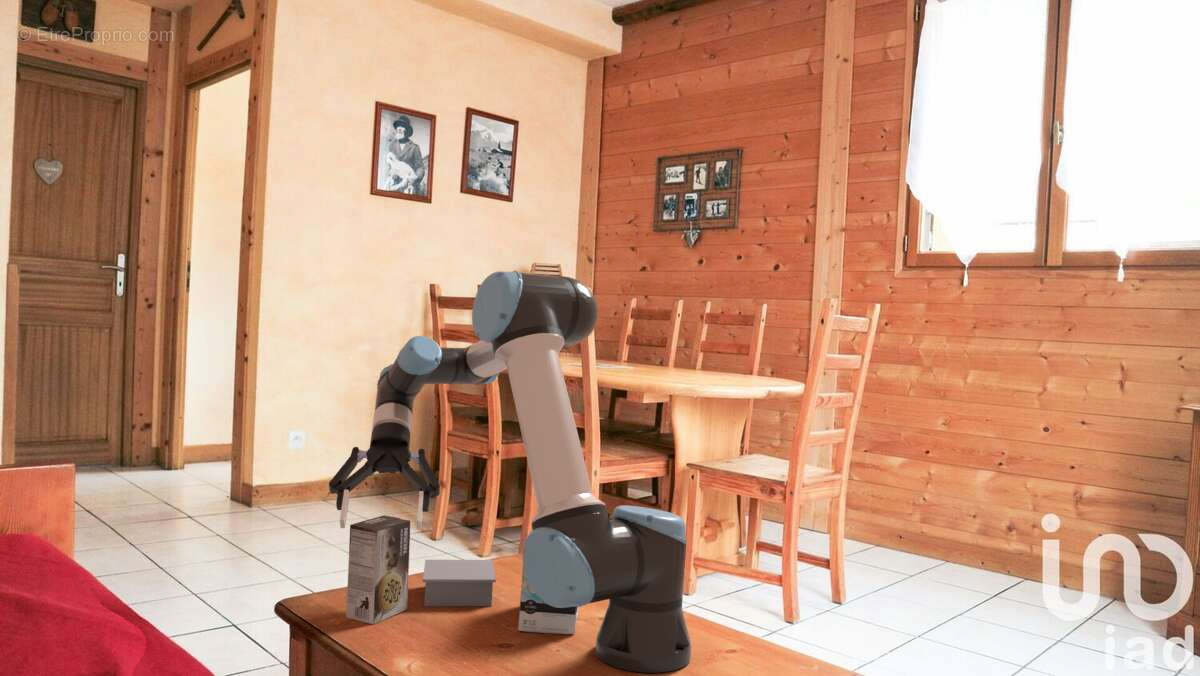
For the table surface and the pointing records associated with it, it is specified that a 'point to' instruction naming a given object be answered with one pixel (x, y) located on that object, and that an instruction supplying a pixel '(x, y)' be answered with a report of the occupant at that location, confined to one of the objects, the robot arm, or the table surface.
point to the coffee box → (378, 569)
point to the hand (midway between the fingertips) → (380, 525)
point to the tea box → (543, 613)
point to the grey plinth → (458, 582)
